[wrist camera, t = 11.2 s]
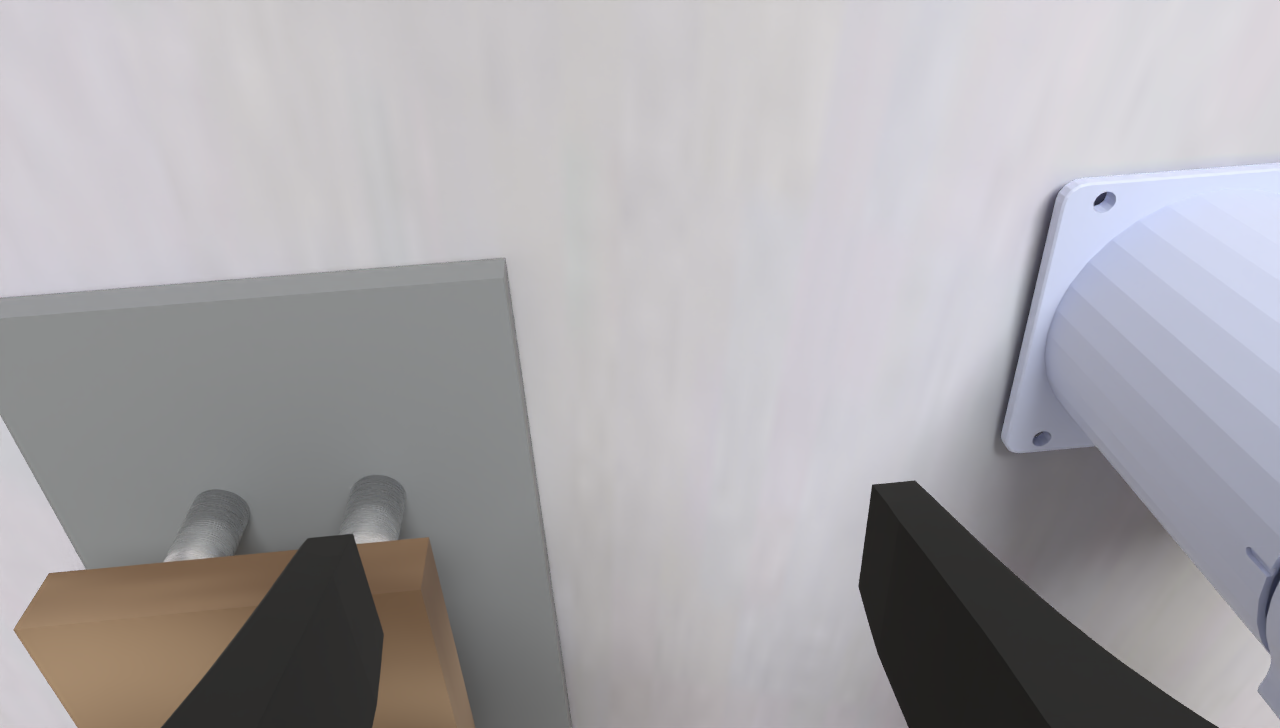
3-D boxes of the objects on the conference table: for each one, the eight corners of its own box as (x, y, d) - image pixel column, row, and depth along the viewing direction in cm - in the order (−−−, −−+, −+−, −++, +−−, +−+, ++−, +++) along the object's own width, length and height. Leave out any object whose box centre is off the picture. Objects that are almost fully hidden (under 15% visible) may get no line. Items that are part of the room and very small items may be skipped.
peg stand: (505, 257, 21) (495, 363, 17) (581, 790, 33) (585, 920, 29) (-27, 299, 20) (-160, 419, 16) (252, 826, 32) (213, 964, 28)
